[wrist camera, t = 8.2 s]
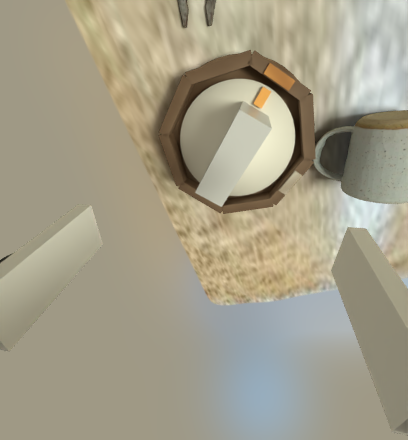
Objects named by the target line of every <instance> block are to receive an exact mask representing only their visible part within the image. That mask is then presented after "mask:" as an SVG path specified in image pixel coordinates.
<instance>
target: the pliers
mask: <svg viewBox="0 0 408 440" xmlns="http://www.w3.org/2000/svg"><path fill="white" fill-rule="evenodd" d="M215 2H216V0H207V4H206V10H207V16H208V22H209V26H211V25H212V21H213V15H214V9H215ZM178 3H179V7H180V12H181V17H182V21H183V26H184V27H186V28H187V21H188V10H189V9H188V5H187V0H178Z"/></svg>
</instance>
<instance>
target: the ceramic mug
mask: <svg viewBox="0 0 408 440" xmlns="http://www.w3.org/2000/svg"><path fill="white" fill-rule="evenodd" d="M342 132H351V133H352V134H351V139H350V144H349V148H348V155H347V159H346V163H345V167H344V172H343V175H340V174H335V173H332V172H330V171H328V170H326V169H325V168H324V167H323V166H322V165H321V164H320V156H321V151H322V148H323V146H324V145H325V141H326V139H327V138H328V137H329V136H331V135H333V134H336V133H342ZM315 156H316V159H314V160H313V161H314V163H313V164H314V166H315V168H316V169H317V170H318V171H319V172H320V173H321V174H322V175H324V176H326V177H328V178H330V179H333V180H337V181H341V188H342V191H343V192H345V193H346V194H347V195H349V196H352V197H354V198H357V199H360V200H364V201H370V202H375V203H384V204H401V203H408V110H403V111H389V112H380V113H374V114H369V115H366V116H363V117H362V118H361V119H359V120H358V121H357V123H356V124H355V126H344V127H340V128H336V129H333V130H331V131H329V132H327V133H326V134H325V135H323V136H322V137H321V138H320V140H319V141H318V142H317V144H316V146H315Z"/></svg>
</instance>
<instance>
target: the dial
mask: <svg viewBox="0 0 408 440" xmlns="http://www.w3.org/2000/svg"><path fill="white" fill-rule="evenodd" d="M294 145H295V127H294V122H293V118H292V116H291V113H290V111H289V109H288V107H287V105H286V104H285V102H284V101H283V100H282V98H281V97H280V96H279V95H278V94H277V93H276V92H275V91H274V90H272V89H271V88H269V87H268V86H266V85H264V84H262V83H260V82H257V81H254V80H249V79H231V80H226V81H222V82H219V83H217V84H215V85H213V86H211V87H209V88H208V89H206V90H205V91H203V92H202V93H201V94H200V95H199V96H198V97H197V98H196V99H195V100H194V101H193V102H192V104H191V105H190V107H189V108H188V110H187V112H186V114H185V117H184V120H183V123H182V127H181V133H180V146H181V151H182V155H183V159H184V161H185V163H186V166H187V167H188V169H189V171H190V172H191V174H192V175H193V176H194V177H195V178H196V179H197V180H198V181H199V182H200V184H199V186H198V188H197V190H196V192H195V193H196V194H198V195H200V196H202V197H204V198H206V199H208V200H209V201H211V202H213V203H215V204H217V205H219V206H221V207H222V206H223V204H224V202H225V201H226V199H227V198H228V196H243V195H249V194H253V193H256V192H258V191H261V190H263V189H264V188H266V187H268V186H269V185H271V184H272V183H273V182H274V181H275V180H276V179H278V178H279V176H280V175H281V174H282V173H283V172H284V170H285V168H286V167H287V165H288V163H289V161H290V159H291V156H292V153H293V150H294Z"/></svg>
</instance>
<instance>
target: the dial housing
mask: <svg viewBox="0 0 408 440" xmlns="http://www.w3.org/2000/svg"><path fill="white" fill-rule="evenodd" d="M231 79H249V80H254V81H257V82H260V83H262V84H264V85H266V86H268V87H269V88H271V89H272V90H274V91H275V92H276V93H277V94H278V95H279V96H280V97H281V98H282V100H283V101H284V102H285V104H286V105H287V107H288V109H289V111H290V113H291V116H292V118H293V122H294V127H295V145H294V150H293V153H292V156H291V159H290V161H289V163H288V165H287V167H286V168H285V170H284V172H283V173H282V174H281V175H280V176H279V178H278V179H276V180H275V181H274V182H273V183H272V184H271V185H269V186H268V187H266V188H264V189H263V190H261V191H258V192H256V193H253V194H249V195H243V196H228V198H227V199H226V201H225V202H224V204H223V206H222V207H221V206H219V205H217V204H215V203H213V202H211V201H209V200H208V199H206V198H204V197H202V196H200V195H198V194H196V193H195V192H196V190H197V188H198V186H199V184H200V182H199V181H198V180H197V179H196V178H195V177H194V176H193V175H192V174H191V172H190V171H189V169H188V167H187V166H186V163H185V161H184V159H183V155H182V151H181V146H180V133H181V127H182V123H183V120H184V117H185V114H186V112H187V110H188V108H189V107H190V105H191V104H192V102H193V101H194V100H195V99H196V98H197V97H198V96H199V95H200V94H201V93H202V92H203V91H205V90H206V89H208V88H209V87H211V86H213V85H215V84H217V83H219V82H222V81H226V80H231ZM310 91H311V90H310V89H308V88H307V87H305V86H304V85H303V84H301V83H300V82H299V81H298V80H297V79H296V77H295V76H294V75H293V74H292V73H291V72H290V71H288V70H287V69H286V68H285V67H283V66H282V65H280V64H278V63H277V62H275V61H273V60H271V59H268V58H265V57H263V56H262V55H260V54H259V53H258V52H256V51H254V52H253V54H251V50H249V51H246V52H243V53H240V54H233V55H227V56H223V57H220V58H217V59H215V60H212V61H210V62H208V63H206V64H205V65H203V66H201V67H199V68H197V69H194V70H191V71H188V72H186V75H183V76H182V78H181V80H180V83H179V85H178V88H177V90H176V92H175V95H174V97H173V99H172V102H171V104H170V107H169V109H168V111H167V114H166V116H165V118H164V121H163V123H162V126H161V128H160V130H159V133H160V135H159V138H160V141H161V144H162V147H163V150H164V152H165V155H166V158H167V161H168V164H169V167H170V169H171V172H172V175H173V178H174V181H175V183H176V186H179V189H180V190H182V191H184V192H185V193H187V194H189V195H190V196H192V197H194V198H195V199H197V200H199V201H201V202H202V203H204V204H206V205H207V206H209V207H211V208H212V209H214V210H216V211H217V212H219V213H221V212H222V211H223V214H226V213H233V212H240V211H246V210H253V209H260V208H267V207H273V204H275V205H277V204H278V202H279V201H280V200H281V199H282V198H283V197H284V196H285V195H286V194H287V192H288V191H289V190H290V189H291V188H292V187H293V186H294V185H295V184H296V182H297V181H298V180H299V179H300V178H301V177H302V176H303V175H304V173H305V172H306V171H307V170H308V169H309V168H310V167H311V166H312V165H313V163H314V161H313V160H314V159H316V156H315V133H314V125H315V124H314V109H313V94H311V93H310Z"/></svg>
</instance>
